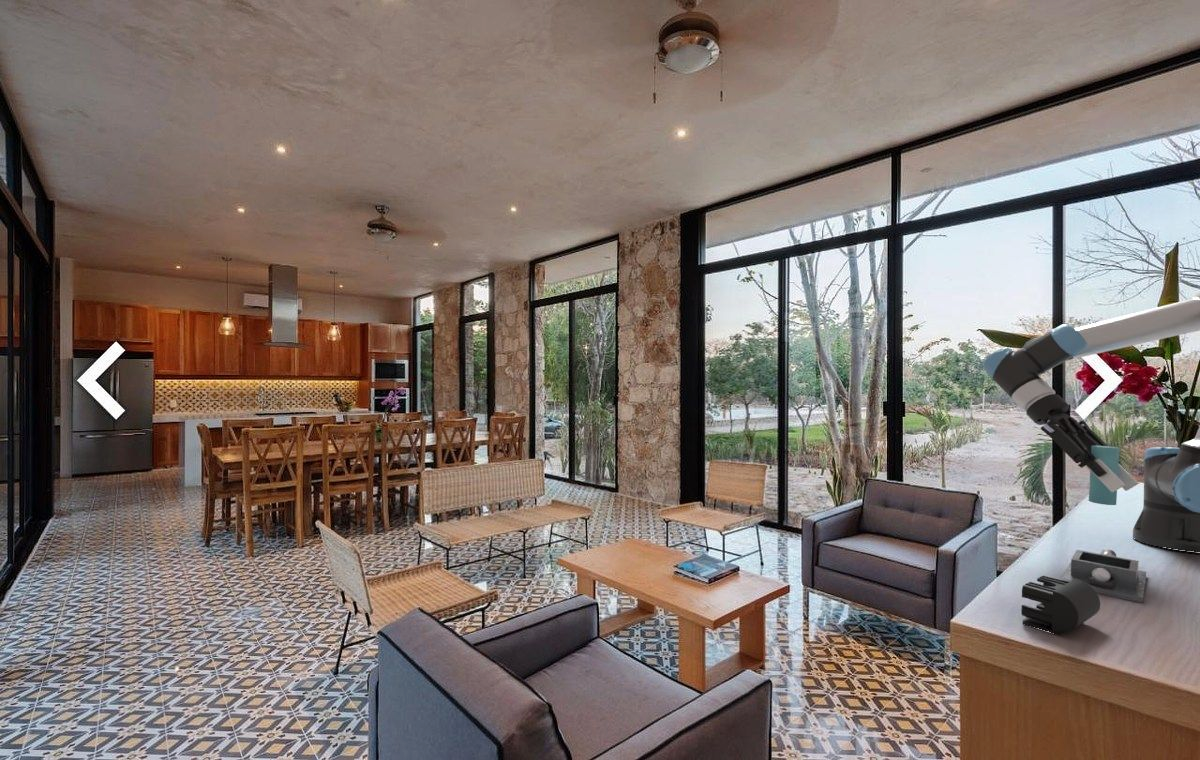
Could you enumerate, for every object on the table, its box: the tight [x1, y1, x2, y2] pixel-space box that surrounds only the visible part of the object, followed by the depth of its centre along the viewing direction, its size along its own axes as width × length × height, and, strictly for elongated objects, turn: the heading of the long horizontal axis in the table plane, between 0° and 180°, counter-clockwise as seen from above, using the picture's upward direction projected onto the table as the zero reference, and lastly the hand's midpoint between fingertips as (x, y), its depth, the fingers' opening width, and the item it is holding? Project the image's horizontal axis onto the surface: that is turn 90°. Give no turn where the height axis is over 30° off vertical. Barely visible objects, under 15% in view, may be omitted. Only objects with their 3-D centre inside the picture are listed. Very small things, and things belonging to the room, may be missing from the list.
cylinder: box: [1088, 445, 1120, 506], centre depth 118 cm, size 4×4×12 cm
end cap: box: [1020, 575, 1101, 636], centre depth 86 cm, size 10×7×7 cm
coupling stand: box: [1059, 548, 1147, 604], centre depth 106 cm, size 19×11×4 cm, turn 134°
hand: (1125, 487), depth 114 cm, fingers closed on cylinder, 4 cm apart
